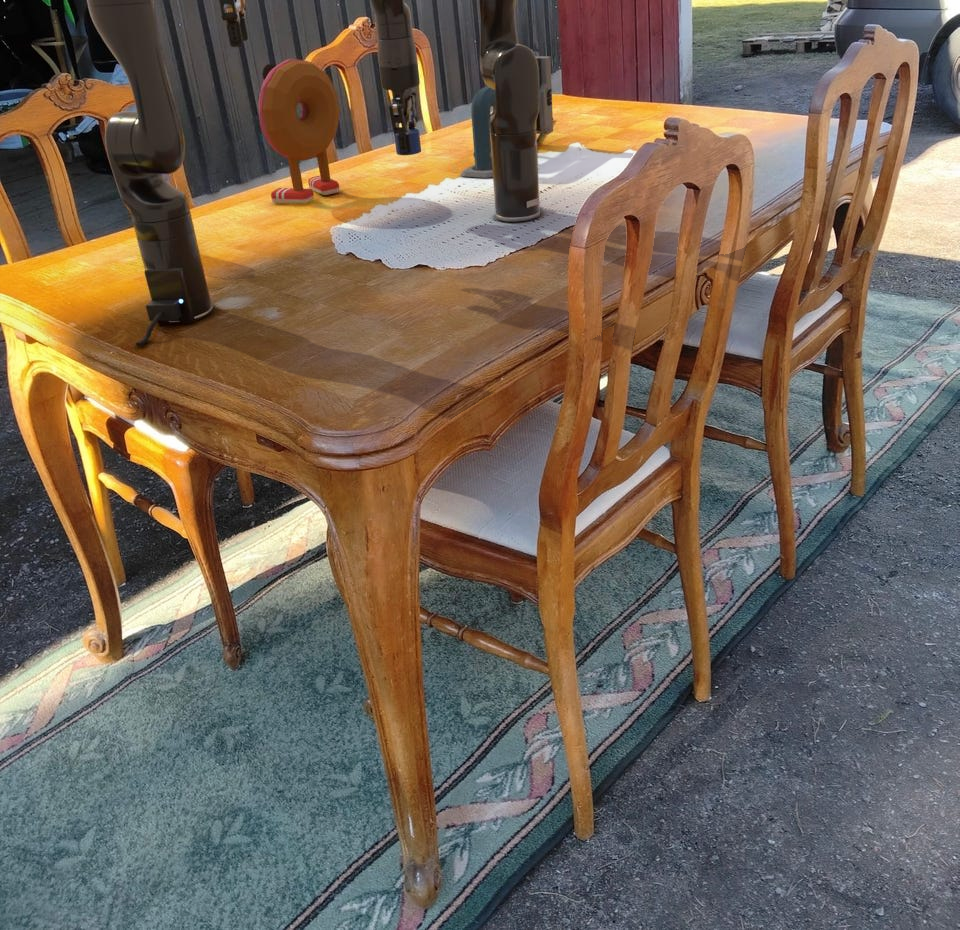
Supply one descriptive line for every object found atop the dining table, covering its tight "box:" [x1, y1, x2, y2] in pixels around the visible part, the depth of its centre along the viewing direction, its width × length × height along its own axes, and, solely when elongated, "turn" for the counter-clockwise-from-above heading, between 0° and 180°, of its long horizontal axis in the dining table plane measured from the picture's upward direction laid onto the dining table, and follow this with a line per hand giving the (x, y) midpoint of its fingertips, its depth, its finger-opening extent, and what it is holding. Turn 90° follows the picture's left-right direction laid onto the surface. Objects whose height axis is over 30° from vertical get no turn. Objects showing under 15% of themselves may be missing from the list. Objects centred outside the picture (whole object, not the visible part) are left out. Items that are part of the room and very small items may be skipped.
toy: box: [257, 58, 341, 205], centre depth 218 cm, size 21×10×30 cm, turn 141°
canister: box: [393, 128, 422, 156], centre depth 198 cm, size 5×5×4 cm
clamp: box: [460, 55, 554, 179], centre depth 237 cm, size 35×9×21 cm, turn 151°
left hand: (239, 43), depth 173 cm, fingers open, 8 cm apart
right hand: (408, 149), depth 198 cm, fingers closed on canister, 5 cm apart
